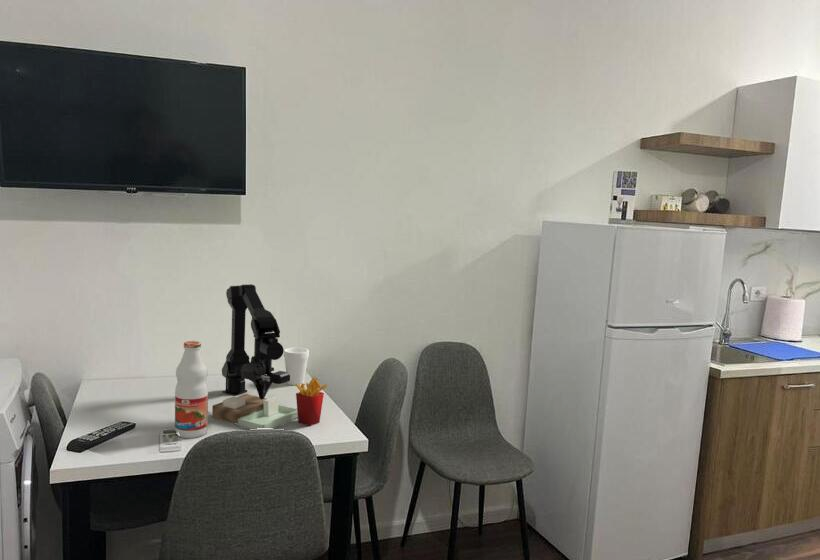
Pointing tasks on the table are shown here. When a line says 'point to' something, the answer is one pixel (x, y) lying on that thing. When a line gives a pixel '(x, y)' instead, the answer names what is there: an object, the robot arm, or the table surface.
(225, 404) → the tile
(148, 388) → the table surface
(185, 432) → the fruit juice
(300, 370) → the foam cup
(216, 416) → the board
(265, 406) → the tile
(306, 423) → the french fries
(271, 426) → the tray
